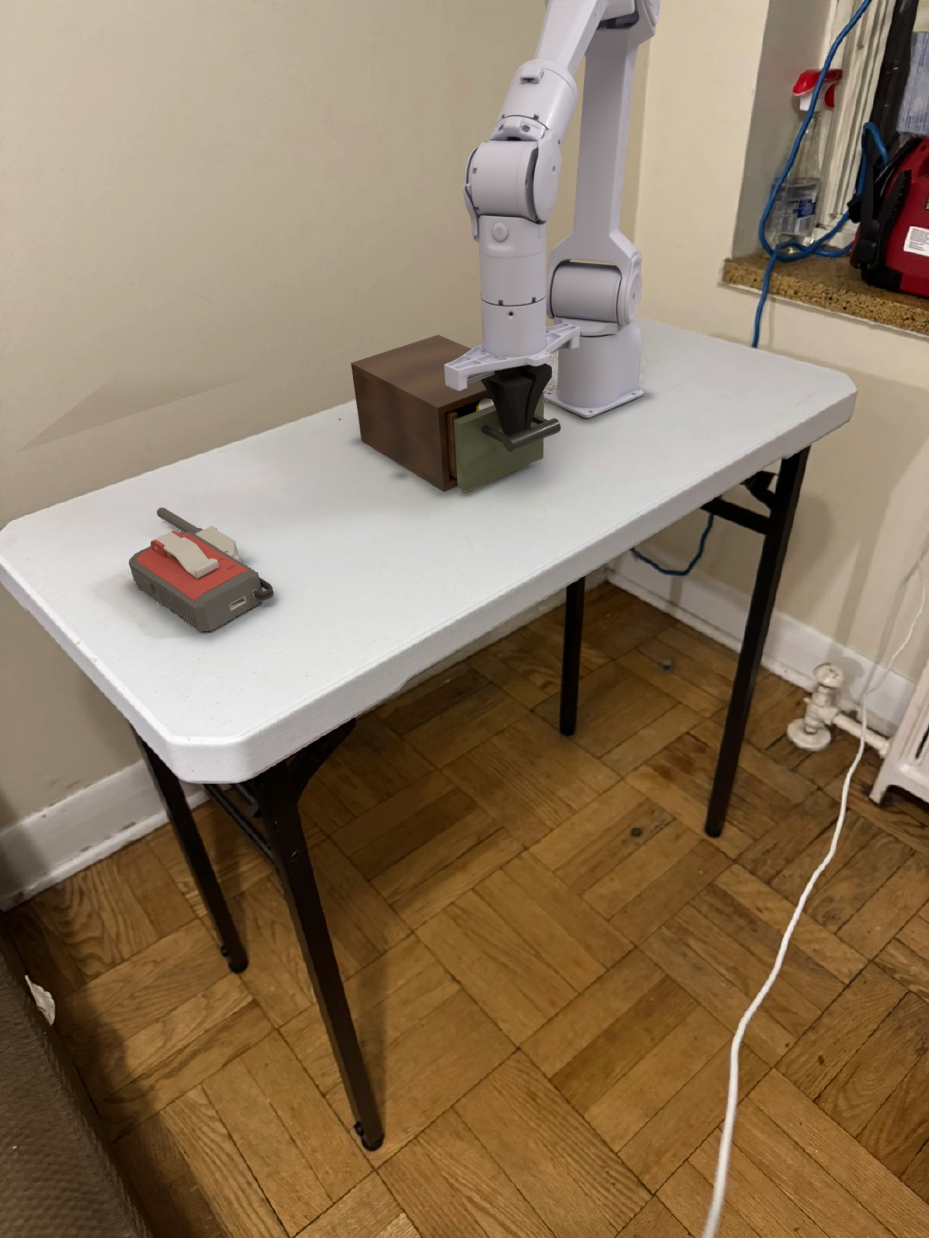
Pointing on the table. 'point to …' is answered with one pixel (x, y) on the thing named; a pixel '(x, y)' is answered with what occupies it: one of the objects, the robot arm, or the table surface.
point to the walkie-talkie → (198, 574)
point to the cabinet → (412, 405)
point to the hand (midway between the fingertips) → (515, 438)
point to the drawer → (491, 444)
